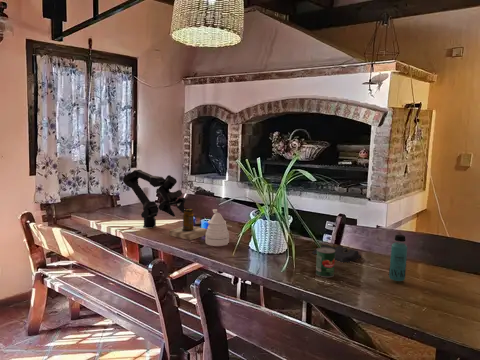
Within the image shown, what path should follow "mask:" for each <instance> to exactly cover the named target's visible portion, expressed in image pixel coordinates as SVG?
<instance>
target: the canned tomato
mask: <svg viewBox="0 0 480 360" xmlns="http://www.w3.org/2000/svg"><path fill="white" fill-rule="evenodd" d="M317 248H318V249H317ZM317 248H316V249H317V255H316V261H315V263H316V264H315V265H316V266H315V275H316V276H318V277H320V276H321V277H322V278H333V277H334V276H335V263H336V261H335V250H334V249H332V248H326V247H321V248H319V247H317Z"/></svg>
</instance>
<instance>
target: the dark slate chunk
mask: <svg viewBox="0 0 480 360" xmlns="http://www.w3.org/2000/svg"><path fill="white" fill-rule="evenodd" d="M320 246H321V247H326V248H332V249H334V250H335V260H337V261H336V262H338V261H340V262H339V263H342V262H343V263H342V264H345V263H344V262H347V263H346V264H349V263H351V262H355V260H356V261H357V259H358V260H359V259H360V258H361V257H362V256H361V254H359V251H358V250H354V249H350V248H349V249H348V248H347V247H343V246H341V245H338V246H336V247H333V246H330V245H327V244H322V245H320ZM318 248H319V247H317V248H316V249H314V250H313V251H312V252H311V254H312V253H313V254H312V255H315V254H317V249H318ZM350 261H351V262H350ZM348 262H349V263H348Z"/></svg>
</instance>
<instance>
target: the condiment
mask: <svg viewBox="0 0 480 360" xmlns="http://www.w3.org/2000/svg"><path fill="white" fill-rule="evenodd" d="M194 215H195V214H194V209H193V208H185V209H184V213H182V227H183V228H181V229H182V231H183V232H193V231H195V230H194V227H195V226H194V224H195V221H194V219H195V217H194Z"/></svg>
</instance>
